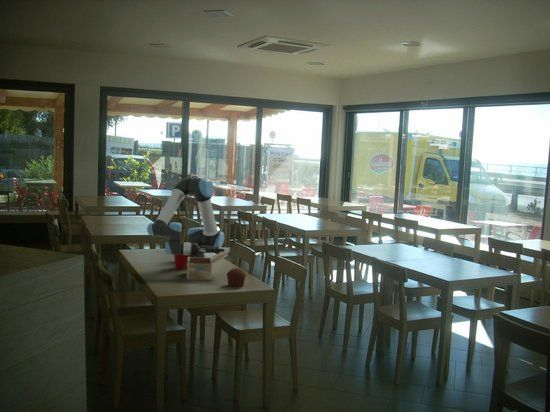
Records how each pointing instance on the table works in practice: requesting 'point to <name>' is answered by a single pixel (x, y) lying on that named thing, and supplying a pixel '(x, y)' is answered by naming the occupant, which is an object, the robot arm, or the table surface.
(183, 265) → the plastic cup
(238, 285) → the muffin
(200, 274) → the light wood open box
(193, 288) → the table surface
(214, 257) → the flap
